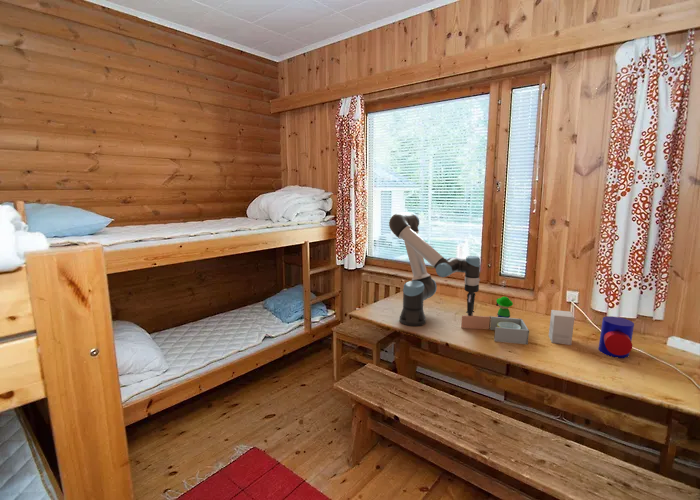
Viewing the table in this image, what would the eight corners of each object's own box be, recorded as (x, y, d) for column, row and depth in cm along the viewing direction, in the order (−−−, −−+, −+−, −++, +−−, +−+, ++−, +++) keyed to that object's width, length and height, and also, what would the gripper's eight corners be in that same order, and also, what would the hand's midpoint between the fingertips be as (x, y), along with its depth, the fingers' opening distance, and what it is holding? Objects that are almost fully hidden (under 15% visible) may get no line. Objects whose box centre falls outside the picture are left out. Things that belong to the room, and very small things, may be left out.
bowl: (501, 330, 198) (502, 319, 197) (523, 336, 190) (524, 325, 189) (492, 336, 190) (493, 325, 189) (515, 343, 182) (516, 331, 181)
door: (460, 326, 202) (461, 314, 201) (489, 327, 201) (490, 315, 199) (461, 328, 200) (462, 315, 199) (490, 329, 199) (491, 316, 197)
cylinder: (632, 364, 161) (637, 331, 158) (600, 357, 167) (604, 325, 164) (625, 346, 178) (630, 316, 175) (596, 341, 184) (601, 312, 181)
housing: (494, 341, 184) (495, 327, 183) (490, 329, 199) (491, 316, 198) (527, 344, 181) (529, 330, 179) (520, 331, 196) (522, 318, 194)
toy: (508, 318, 214) (510, 294, 212) (513, 324, 206) (515, 299, 203) (493, 317, 215) (494, 294, 212) (497, 323, 207) (499, 298, 204)
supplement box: (567, 338, 188) (570, 311, 185) (571, 345, 180) (575, 317, 177) (548, 335, 191) (551, 309, 188) (551, 342, 182) (554, 315, 180)
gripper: (477, 288, 191) (474, 329, 196) (480, 281, 202) (478, 320, 207) (462, 286, 194) (460, 326, 199) (466, 280, 206) (464, 318, 210)
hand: (469, 323), depth 203 cm, fingers closed
